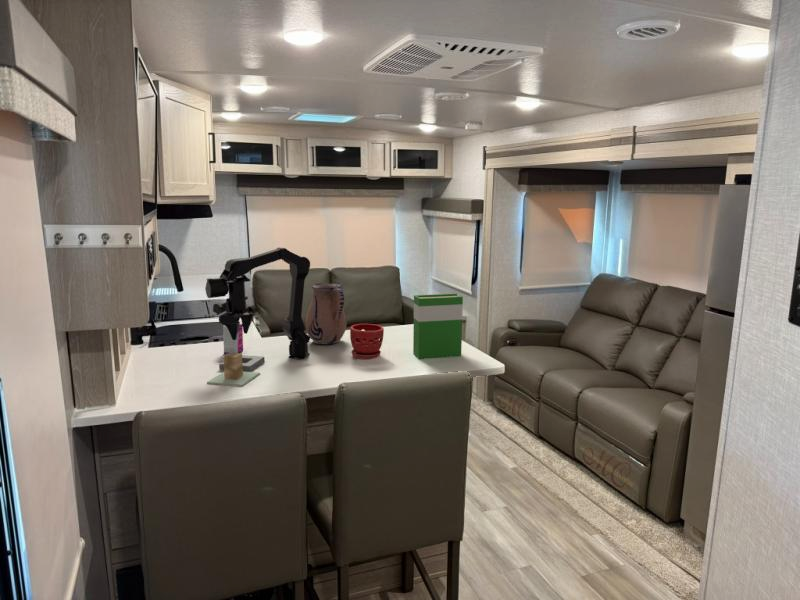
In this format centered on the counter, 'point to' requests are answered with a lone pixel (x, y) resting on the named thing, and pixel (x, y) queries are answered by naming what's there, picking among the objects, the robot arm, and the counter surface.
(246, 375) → the rubber mat
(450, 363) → the counter surface
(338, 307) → the ceramic pitcher
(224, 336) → the supplement box
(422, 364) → the counter surface
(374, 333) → the plant pot
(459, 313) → the hardback book
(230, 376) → the oak block
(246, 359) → the charcoal holder
